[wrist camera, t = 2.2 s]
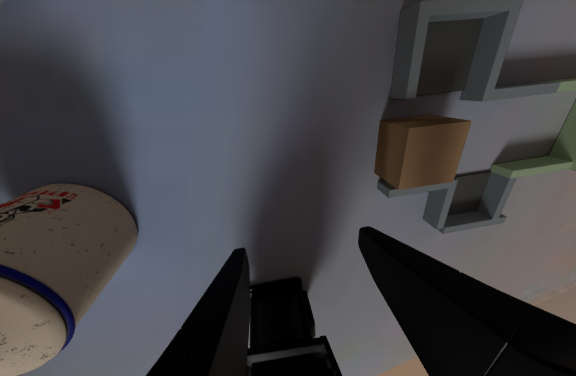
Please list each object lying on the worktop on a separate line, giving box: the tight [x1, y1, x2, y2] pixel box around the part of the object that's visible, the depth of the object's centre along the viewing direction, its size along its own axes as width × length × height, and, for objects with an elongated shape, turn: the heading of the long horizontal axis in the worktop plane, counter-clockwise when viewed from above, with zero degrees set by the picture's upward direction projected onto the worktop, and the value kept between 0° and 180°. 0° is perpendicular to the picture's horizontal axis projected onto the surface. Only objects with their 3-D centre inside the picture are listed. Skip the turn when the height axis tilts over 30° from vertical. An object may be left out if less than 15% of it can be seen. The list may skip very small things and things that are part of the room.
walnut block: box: [374, 115, 472, 190], centre depth 18 cm, size 5×5×4 cm
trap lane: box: [377, 0, 576, 234], centre depth 19 cm, size 21×20×3 cm
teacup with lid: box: [0, 183, 137, 376], centre depth 13 cm, size 12×9×12 cm
